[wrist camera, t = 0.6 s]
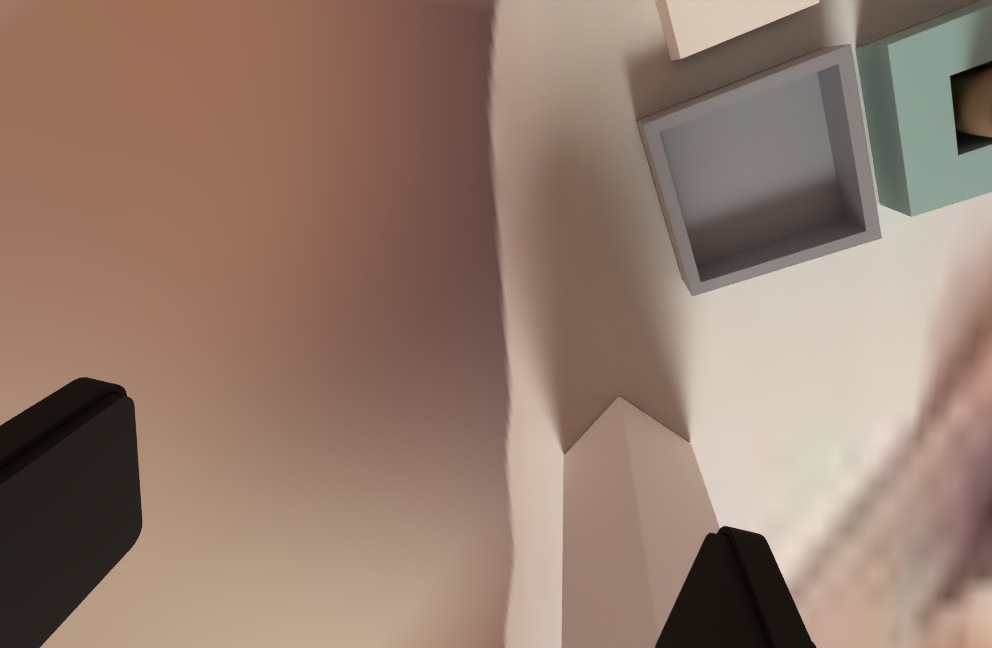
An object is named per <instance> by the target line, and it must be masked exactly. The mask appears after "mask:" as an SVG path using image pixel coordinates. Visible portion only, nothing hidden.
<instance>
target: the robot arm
mask: <svg viewBox="0 0 992 648" xmlns="http://www.w3.org/2000/svg"><path fill="white" fill-rule="evenodd" d="M141 528H142V510H141V495H140V480H139V467H138V452H137V436H136V423H135V407H134V402H133V400H132V399H131V398H129V397H127V394H126V391H125V389H124V388H123V387H122V386H120V385H117V384H113V383H108V382H104V381H100V380H95V379H91V378H87V377H86V378H85V377H84V378H78V379H76V380H74V381H72V382H70V383H69V384H67V385H66V386H64V387H62V388H61V389H59V390H57V391H56V392H54V393H53V394H51V395H49V396H48V397H46V398H44V399H43V400H41V401H40V402H38V403H36V404H35V405H33V406H31V407H30V408H28V409H26V410H25V411H23V412H22V413H20V414H18V415H17V416H15V417H14V418H12V419H10V420H9V421H7V422H5V423H4V424H2V425H1V426H0V648H40V647H41V646H42V645H43V643H44V642H45V641H46V640H47V639H48V638H49V637H50V636H51V635H52V634H53V633H54V632H55V630H56V629H57V628H58V627H59V626H60V625H61V624H62V623H63V621H65V620H66V618H67V617H68V616H69V615H70V614H71V613H72V612H73V611H74V610H75V609H76V608H77V607H78V605H79V604H80V603H81V602H82V601H83V600H84V599H85V598H86V597H87V596H88V594H89V593H90V592H91V591H92V590H93V589H94V588H95V587H96V586H97V585H98V584H99V583H100V581H101V580H102V579H103V578H104V577H105V576H106V575H107V574H108V573H109V572H110V570H111V569H112V568H113V567H114V566H115V565H116V564H117V563H118V562H119V561H120V560H121V559H122V558H123V557H124V555H125V554H126V553H127V552H128V551H129V550H130V549H131V548H132V546H133V545H134V544H135V542H136V541H137V539H138V537H139V535H140V532H141ZM655 648H816V646H815V644H814V643H813V642H812V641H811V639H810V636H809V634H808V632H807V630H806V628H805V625H804V623H803V621H802V619H801V616H800V614H799V612H798V610H797V607H796V605H795V603H794V601H793V598H792V596H791V594H790V592H789V590H788V587H787V585H786V583H785V581H784V578H783V576H782V574H781V572H780V569H779V567H778V565H777V563H776V560H775V558H774V556H773V554H772V551H771V549H770V547H769V545H768V543H767V541H766V539H765V538H764V536H762V535H761V534H758V533H754V532H749V531H745V530H741V529H736V528H732V527H728V526H723V527H722V528H720V529H719V531H718V532H717V534H716V533H709V534H707V536H706V537H705V539H704V541H703V543H702V545H701V547H700V550H699V552H698V554H697V556H696V558H695V560H694V563H693V565H692V567H691V569H690V571H689V573H688V576H687V578H686V580H685V582H684V584H683V586H682V589H681V591H680V593H679V595H678V597H677V599H676V601H675V604H674V606H673V608H672V610H671V612H670V614H669V617H668V619H667V621H666V623H665V625H664V627H663V630H662V632H661V634H660V636H659V638H658V640H657V643H656V645H655Z"/></svg>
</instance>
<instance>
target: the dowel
mask: <svg viewBox="0 0 992 648" xmlns="http://www.w3.org/2000/svg"><path fill="white" fill-rule="evenodd" d="M950 84H951V93H952V102H953V112H954V121H955V131H956V133H963V134H971V135H978V136H985V137H992V64H983V65H979V66H976V67H973V68H970V69H967V70H965V71H962V72H959V73H956V74H954V75H951V76H950Z"/></svg>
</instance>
